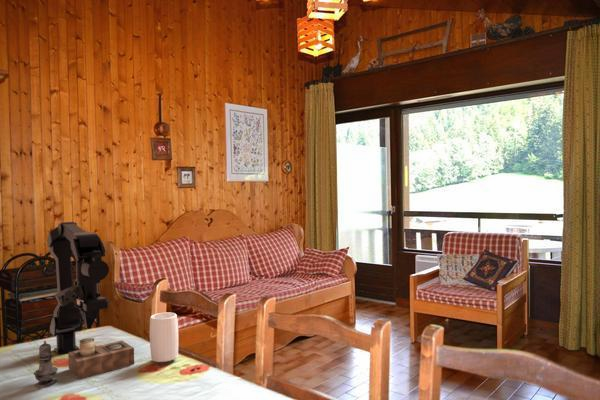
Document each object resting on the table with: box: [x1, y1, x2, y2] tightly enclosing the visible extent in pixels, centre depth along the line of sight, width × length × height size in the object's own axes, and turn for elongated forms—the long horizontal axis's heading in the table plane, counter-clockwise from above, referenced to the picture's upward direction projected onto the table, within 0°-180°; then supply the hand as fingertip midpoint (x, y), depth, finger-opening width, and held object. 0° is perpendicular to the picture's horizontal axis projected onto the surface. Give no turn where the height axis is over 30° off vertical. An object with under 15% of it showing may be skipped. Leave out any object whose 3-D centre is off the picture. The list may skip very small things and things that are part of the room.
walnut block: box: [67, 340, 135, 380], centre depth 139 cm, size 16×10×5 cm, turn 131°
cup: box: [149, 311, 179, 363], centre depth 142 cm, size 8×8×14 cm
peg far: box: [108, 344, 122, 350], centre depth 141 cm, size 4×4×5 cm
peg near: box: [79, 337, 95, 357], centre depth 136 cm, size 4×4×5 cm
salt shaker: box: [33, 340, 58, 389], centre depth 127 cm, size 6×6×12 cm
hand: (88, 328), depth 136 cm, fingers closed
